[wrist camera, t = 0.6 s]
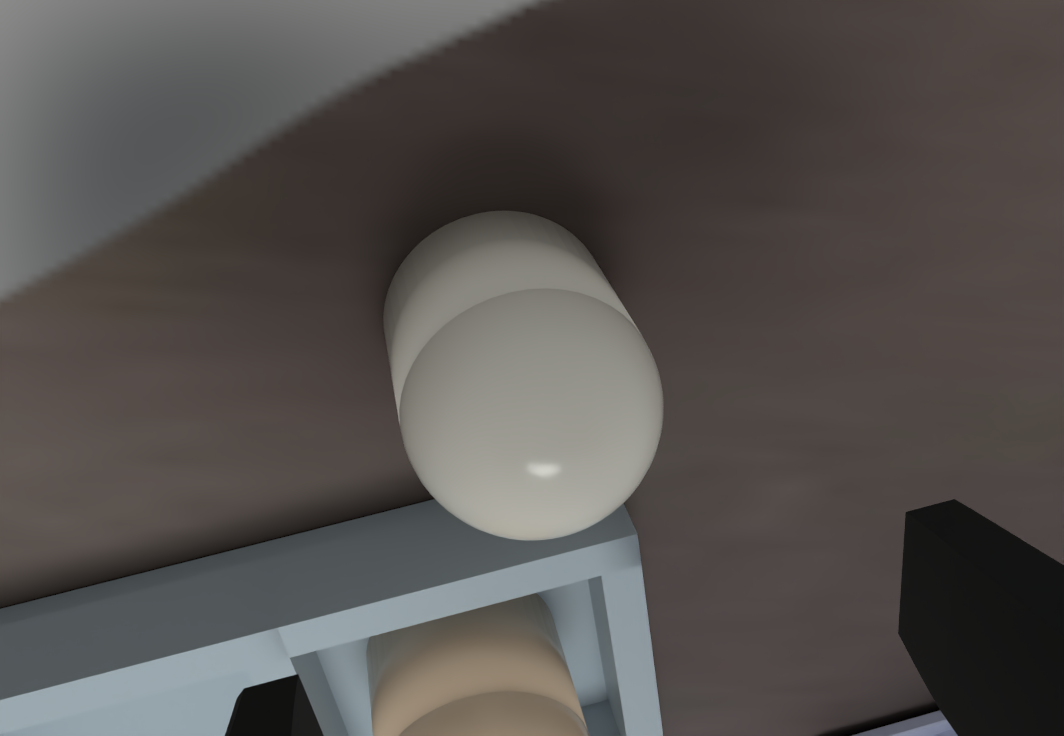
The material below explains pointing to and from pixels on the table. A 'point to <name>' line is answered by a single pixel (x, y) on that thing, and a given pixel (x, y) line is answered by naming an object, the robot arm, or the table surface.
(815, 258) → the table surface
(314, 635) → the egg carton
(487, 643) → the brown egg
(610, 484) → the cream egg
